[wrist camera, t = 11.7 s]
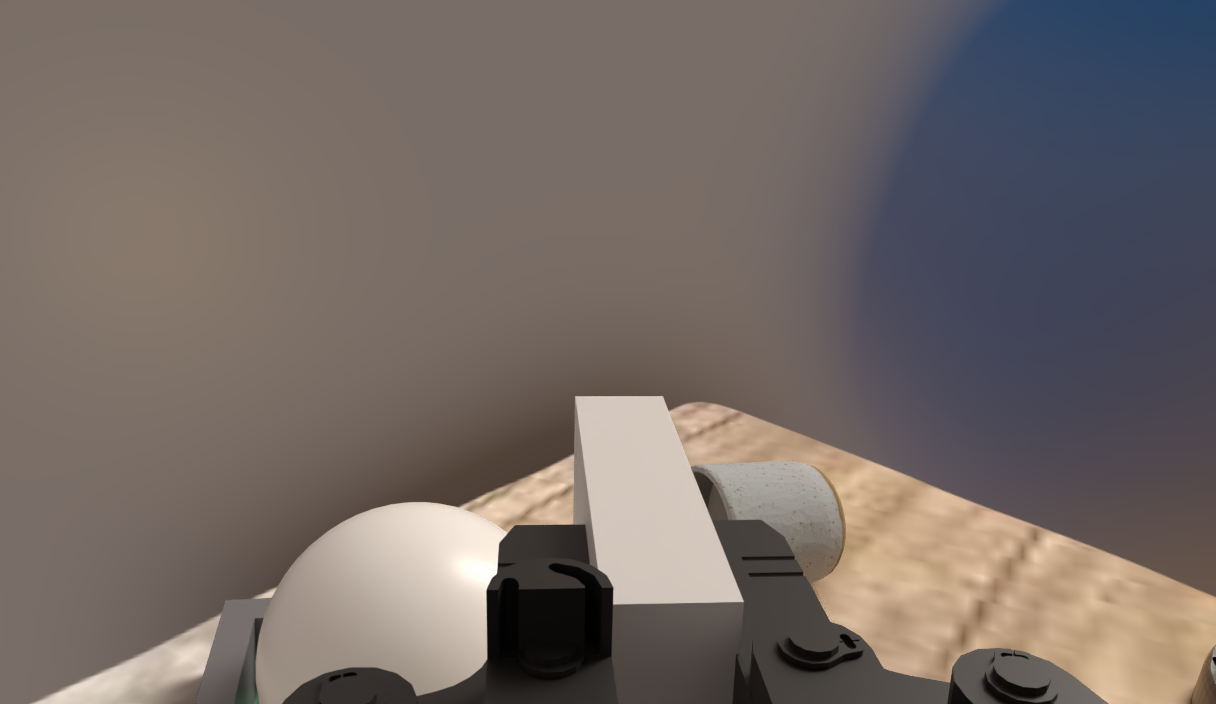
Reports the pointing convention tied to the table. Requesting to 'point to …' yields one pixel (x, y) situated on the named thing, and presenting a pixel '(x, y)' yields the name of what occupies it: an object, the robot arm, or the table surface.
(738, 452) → the table surface
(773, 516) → the ceramic mug
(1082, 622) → the table surface
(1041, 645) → the table surface
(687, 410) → the table surface
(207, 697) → the grey open tray
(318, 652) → the ball
